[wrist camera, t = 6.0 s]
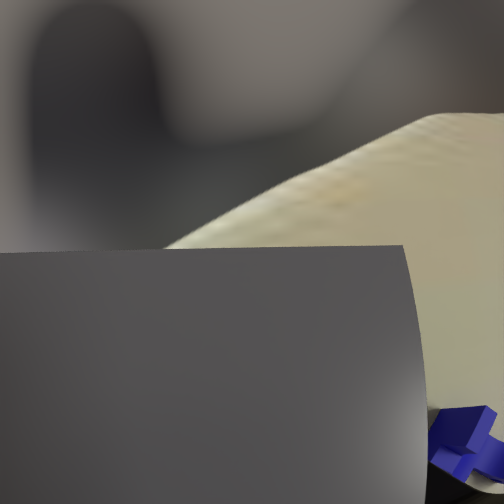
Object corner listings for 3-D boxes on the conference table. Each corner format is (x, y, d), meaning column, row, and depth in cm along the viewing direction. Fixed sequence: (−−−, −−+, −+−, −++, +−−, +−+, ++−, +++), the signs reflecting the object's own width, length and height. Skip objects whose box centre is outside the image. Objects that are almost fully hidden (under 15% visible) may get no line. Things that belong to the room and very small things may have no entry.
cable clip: (411, 457, 17) (453, 467, 11) (440, 408, 18) (486, 405, 13) (488, 496, 13) (528, 504, 8) (510, 455, 15) (552, 455, 9)
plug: (285, 452, 12) (394, 629, 1) (201, 451, 12) (7, 576, 1) (283, 374, 14) (402, 246, 2) (201, 374, 14) (-1, 252, 2)
